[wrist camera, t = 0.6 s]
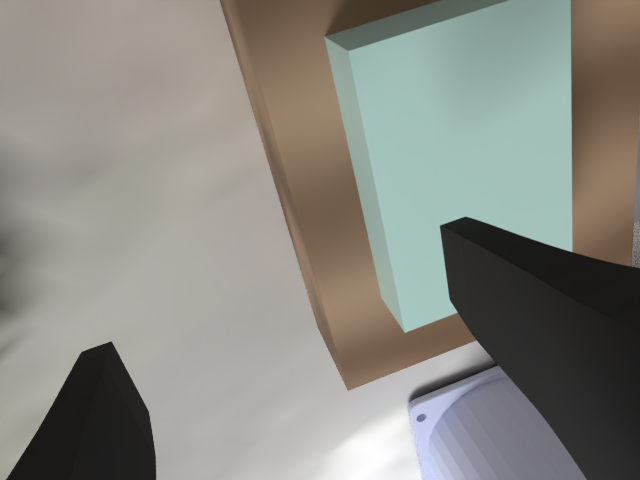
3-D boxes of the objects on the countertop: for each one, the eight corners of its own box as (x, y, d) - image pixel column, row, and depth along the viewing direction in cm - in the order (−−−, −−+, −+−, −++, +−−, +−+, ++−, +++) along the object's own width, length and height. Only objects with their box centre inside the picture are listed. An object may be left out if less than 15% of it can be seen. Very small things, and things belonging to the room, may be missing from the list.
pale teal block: (536, 240, 22) (572, 268, 20) (381, 298, 21) (405, 332, 19) (525, -26, 17) (570, -20, 15) (324, 36, 16) (348, 51, 14)
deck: (567, 234, 27) (630, 279, 24) (318, 327, 26) (347, 390, 22) (562, -154, 19) (655, -168, 16) (204, -52, 18) (223, -44, 15)
